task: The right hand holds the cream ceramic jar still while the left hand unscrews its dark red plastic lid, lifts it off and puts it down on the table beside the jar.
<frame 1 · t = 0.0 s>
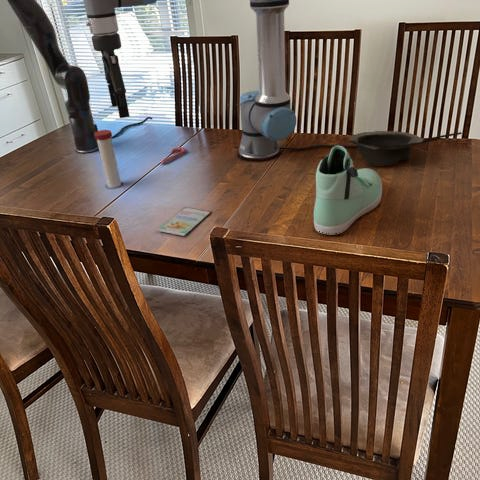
right hand: (120, 111, 141), 28 cm above the table, tool pointing down, fingers open, 13 cm apart
candy cane: (172, 157, 183), on the table
jar: (114, 185, 165), on the table
baking ingredient package: (184, 222, 139), on the table
lid: (102, 133, 155), point 18 cm above the table, screwed on, not yet turned
sneaker: (348, 208, 139), on the table
stone bowl: (382, 157, 169), on the table
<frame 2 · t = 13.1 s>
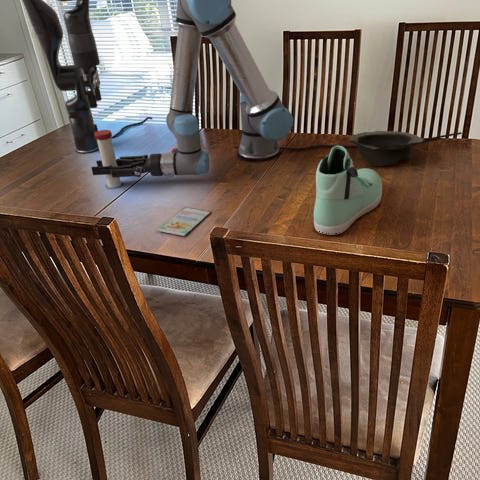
left hand: (96, 104, 150), 28 cm above the table, tool pointing down, fingers open, 7 cm apart
right hand: (95, 167, 162), 7 cm above the table, tool horizontal, fingers closed on jar, 5 cm apart
jar: (114, 185, 165), on the table, touching right hand
everything else where it was.
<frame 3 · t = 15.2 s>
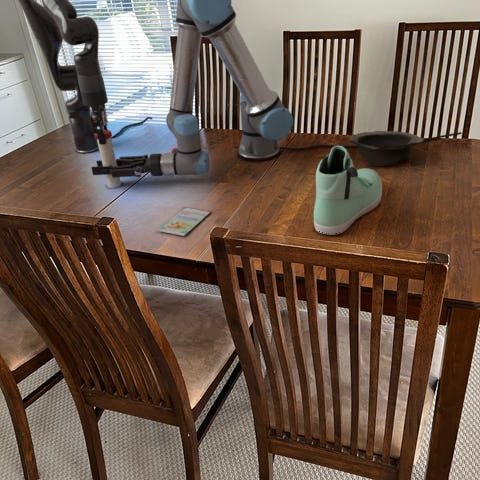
left hand: (104, 140, 157), 16 cm above the table, tool pointing down, fingers closed on lid, 5 cm apart
right hand: (95, 167, 162), 7 cm above the table, tool horizontal, fingers closed on jar, 5 cm apart
jar: (114, 185, 165), on the table, touching right hand
lid: (102, 133, 155), point 18 cm above the table, screwed on, not yet turned, touching left hand
everything else where it was.
when the left hand's fingers open (16 cm above the table, at t = 16.7 s): lid stays where it is, point 19 cm above the table.
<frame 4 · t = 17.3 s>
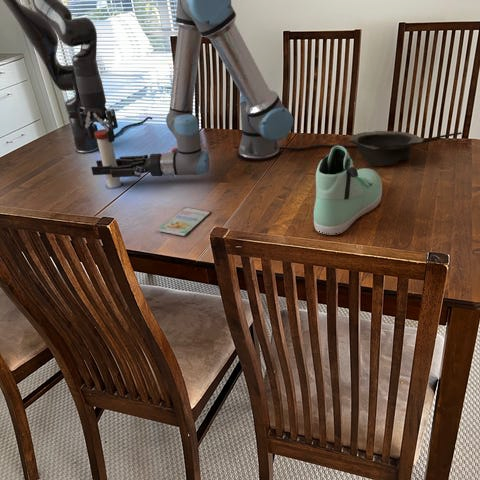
left hand: (102, 140, 156), 16 cm above the table, tool pointing down, fingers open, 7 cm apart
right hand: (95, 167, 162), 7 cm above the table, tool horizontal, fingers closed on jar, 5 cm apart
jar: (114, 185, 165), on the table, touching right hand
lid: (102, 132, 155), point 19 cm above the table, turned 77° so far, risen 0.2 cm, still on its thread
everything else where it was.
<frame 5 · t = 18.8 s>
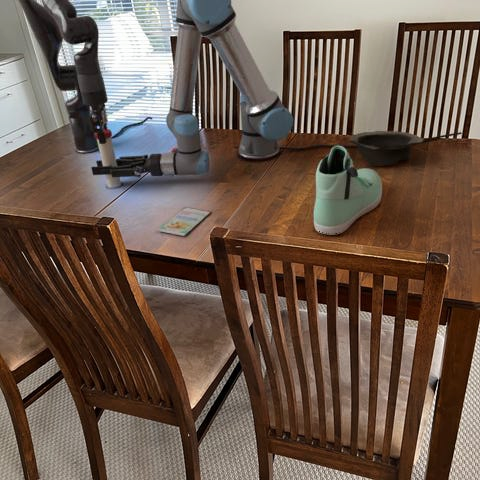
left hand: (104, 140, 157), 16 cm above the table, tool pointing down, fingers closed on lid, 5 cm apart
right hand: (95, 167, 162), 7 cm above the table, tool horizontal, fingers closed on jar, 5 cm apart
jar: (114, 185, 165), on the table, touching right hand
lid: (102, 132, 155), point 19 cm above the table, turned 77° so far, risen 0.2 cm, still on its thread, touching left hand
everything else where it was.
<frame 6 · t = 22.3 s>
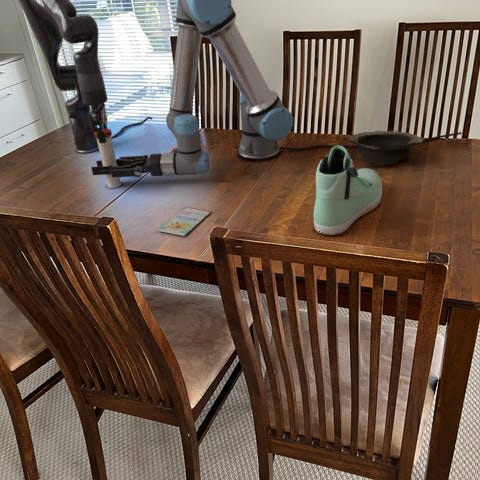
left hand: (104, 139, 156), 16 cm above the table, tool pointing down, fingers closed on lid, 5 cm apart
right hand: (95, 167, 162), 7 cm above the table, tool horizontal, fingers closed on jar, 5 cm apart
jar: (114, 185, 165), on the table, touching right hand
lid: (102, 132, 155), point 19 cm above the table, turned 155° so far, risen 0.4 cm, still on its thread, touching left hand
everything else where it was.
when the left hand's fingers open (0 cm above the table, at t = 30.8 s): lid drops 2 cm, point 1 cm above the table.
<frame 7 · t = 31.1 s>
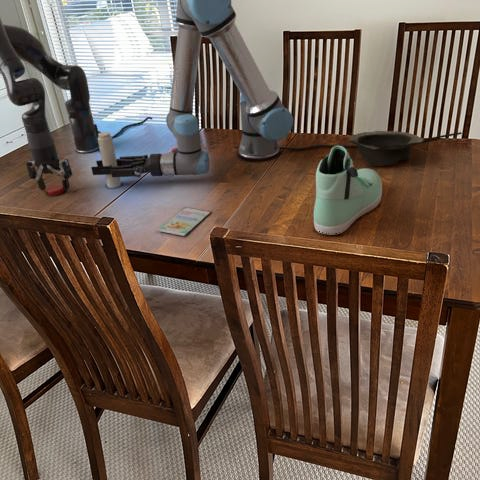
left hand: (55, 189, 163), 1 cm above the table, tool pointing down, fingers open, 8 cm apart
right hand: (95, 167, 162), 7 cm above the table, tool horizontal, fingers closed on jar, 5 cm apart
jar: (114, 185, 165), on the table, touching right hand
lid: (55, 189, 163), point 1 cm above the table, off its thread
everything else where it was.
when the right hand's fingers open (7 cm above the table, at t = 31.6 s): jar stays where it is, on the table.
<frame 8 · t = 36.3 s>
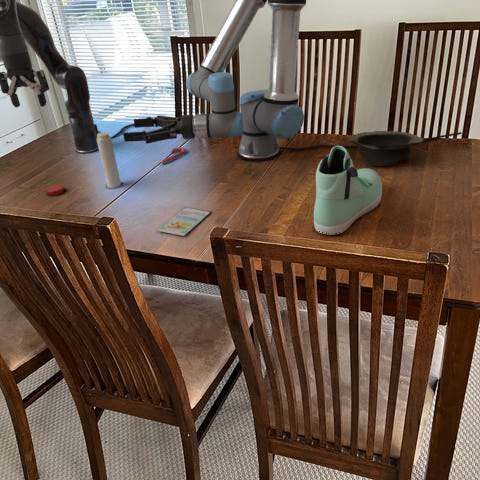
left hand: (30, 106, 148), 29 cm above the table, tool pointing down, fingers open, 8 cm apart
right hand: (129, 130, 154), 19 cm above the table, tool horizontal, fingers open, 13 cm apart
jar: (114, 185, 165), on the table
everything else where it was.
at the end: lid came off its thread; lid point 1.2 cm above the table; the left hand is holding nothing; the right hand is holding nothing; jar tilted 0°; jar moved 0.1 cm from its start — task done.
